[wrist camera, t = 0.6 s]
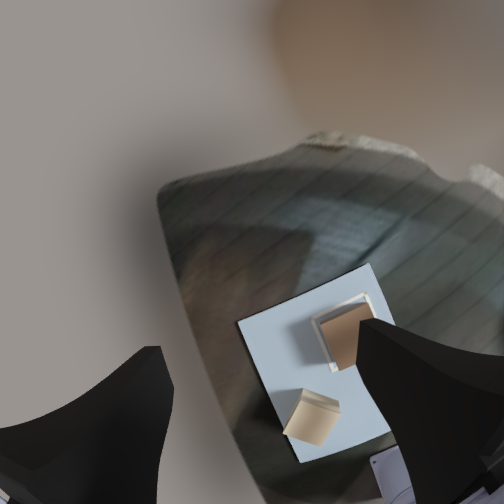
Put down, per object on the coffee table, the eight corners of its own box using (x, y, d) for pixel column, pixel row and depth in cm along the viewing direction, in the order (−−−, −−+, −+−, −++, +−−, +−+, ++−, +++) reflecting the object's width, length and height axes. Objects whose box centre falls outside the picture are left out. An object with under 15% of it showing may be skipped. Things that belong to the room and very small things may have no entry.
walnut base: (378, 342, 27) (386, 349, 23) (336, 362, 27) (339, 371, 23) (361, 301, 28) (368, 302, 24) (320, 321, 29) (320, 325, 25)
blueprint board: (422, 411, 24) (423, 413, 23) (300, 460, 26) (300, 463, 26) (368, 263, 29) (369, 262, 28) (239, 321, 31) (237, 322, 31)
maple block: (338, 400, 26) (340, 414, 23) (321, 430, 26) (321, 447, 22) (303, 387, 28) (300, 400, 24) (287, 418, 27) (282, 433, 24)
